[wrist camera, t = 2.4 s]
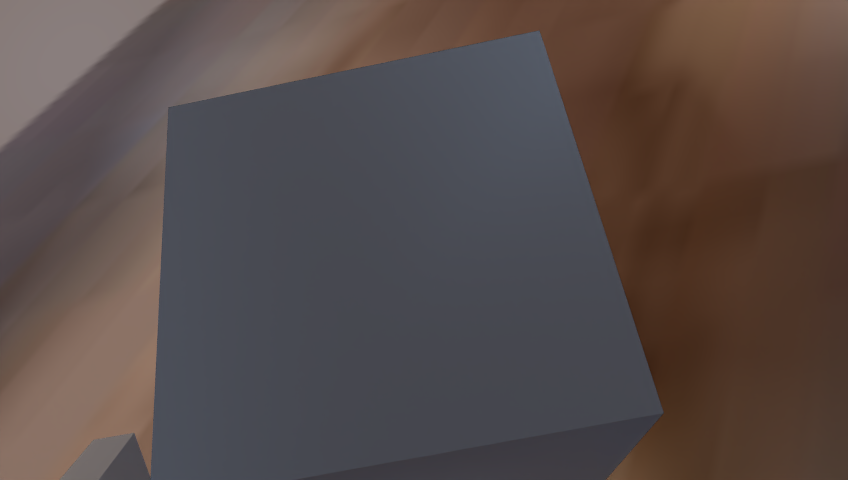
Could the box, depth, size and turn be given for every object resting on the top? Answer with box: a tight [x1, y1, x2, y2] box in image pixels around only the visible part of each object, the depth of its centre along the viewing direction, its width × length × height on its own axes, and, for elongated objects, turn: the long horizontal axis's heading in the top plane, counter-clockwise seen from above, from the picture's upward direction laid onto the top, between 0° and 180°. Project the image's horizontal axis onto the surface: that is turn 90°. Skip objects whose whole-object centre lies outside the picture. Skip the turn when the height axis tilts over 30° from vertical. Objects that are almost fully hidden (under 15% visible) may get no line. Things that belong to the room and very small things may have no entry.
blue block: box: [151, 30, 664, 480], centre depth 14 cm, size 6×6×12 cm
